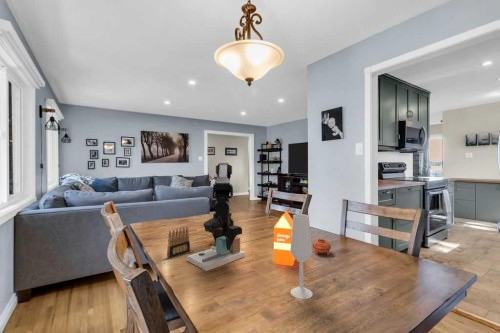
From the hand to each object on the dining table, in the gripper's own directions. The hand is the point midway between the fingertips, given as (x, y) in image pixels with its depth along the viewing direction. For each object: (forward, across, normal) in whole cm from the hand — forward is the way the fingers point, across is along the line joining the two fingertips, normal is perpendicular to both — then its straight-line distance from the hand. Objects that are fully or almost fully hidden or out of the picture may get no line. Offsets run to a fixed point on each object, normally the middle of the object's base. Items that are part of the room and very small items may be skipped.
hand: (222, 247), depth 100 cm
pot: (+5, +26, +36) cm, 45 cm away
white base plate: (+5, -3, -1) cm, 6 cm away
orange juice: (+5, +19, +18) cm, 27 cm away
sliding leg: (+2, -3, 0) cm, 4 cm away
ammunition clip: (+5, -19, -10) cm, 22 cm away
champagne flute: (+5, +38, +1) cm, 38 cm away
